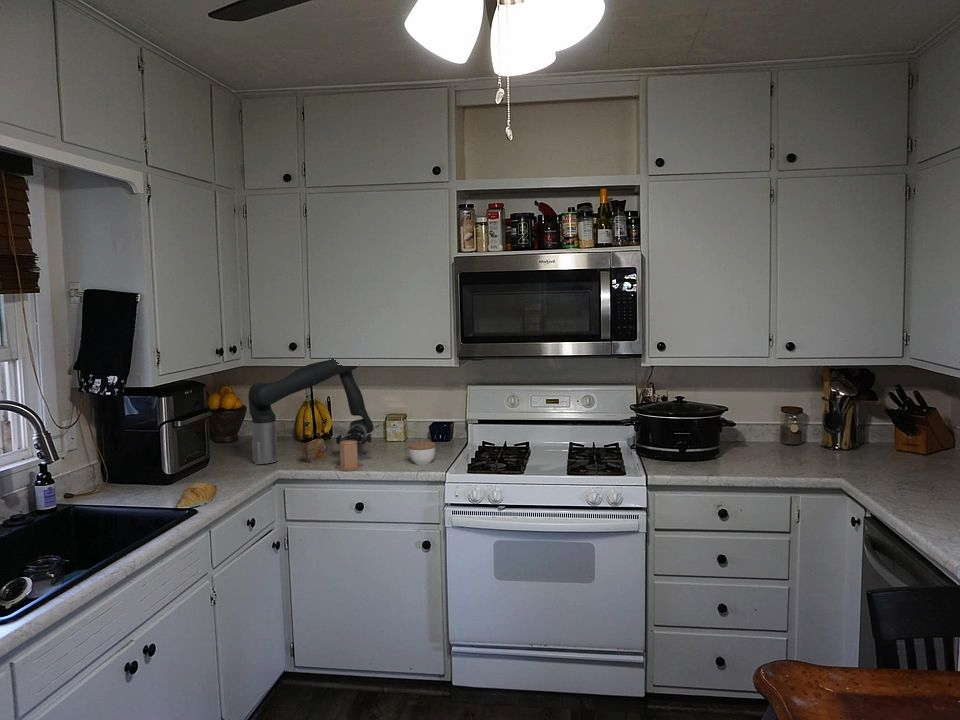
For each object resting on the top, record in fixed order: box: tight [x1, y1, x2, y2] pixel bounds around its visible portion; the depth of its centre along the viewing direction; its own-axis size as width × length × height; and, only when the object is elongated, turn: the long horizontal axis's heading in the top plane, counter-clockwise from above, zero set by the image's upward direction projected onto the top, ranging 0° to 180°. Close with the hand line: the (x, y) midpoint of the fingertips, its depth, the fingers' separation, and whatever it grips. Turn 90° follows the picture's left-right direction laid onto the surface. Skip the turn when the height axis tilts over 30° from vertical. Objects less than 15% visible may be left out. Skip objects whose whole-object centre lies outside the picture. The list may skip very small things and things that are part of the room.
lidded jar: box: [408, 439, 436, 466], centre depth 277 cm, size 11×11×9 cm
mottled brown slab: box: [302, 438, 328, 463], centre depth 287 cm, size 15×3×8 cm, turn 161°
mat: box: [335, 452, 374, 462], centre depth 287 cm, size 12×12×1 cm
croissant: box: [176, 481, 218, 508], centre depth 231 cm, size 21×10×8 cm, turn 171°
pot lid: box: [334, 462, 364, 472], centre depth 272 cm, size 11×11×3 cm
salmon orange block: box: [339, 439, 359, 468], centre depth 272 cm, size 6×6×10 cm
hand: (351, 442), depth 281 cm, fingers open, 8 cm apart
